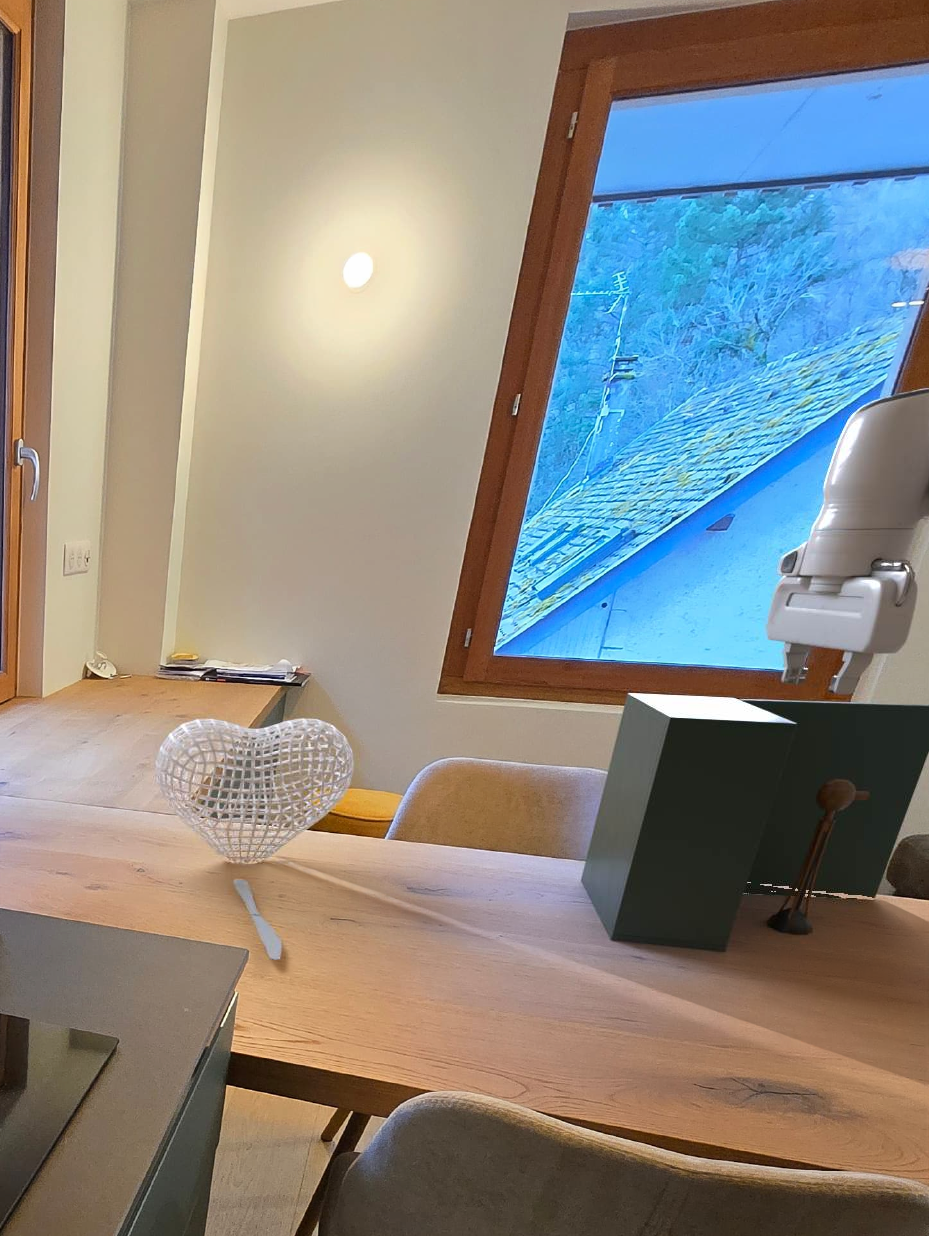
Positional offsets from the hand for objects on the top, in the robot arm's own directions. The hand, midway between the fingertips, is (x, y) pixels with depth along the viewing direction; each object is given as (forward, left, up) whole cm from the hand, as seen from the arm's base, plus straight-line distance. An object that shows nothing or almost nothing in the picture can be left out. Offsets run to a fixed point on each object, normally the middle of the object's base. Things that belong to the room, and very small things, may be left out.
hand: (815, 688), depth 118 cm
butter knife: (+35, +49, -30) cm, 67 cm away
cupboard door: (+5, -18, -30) cm, 35 cm away
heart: (+53, +32, -30) cm, 69 cm away
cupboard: (+9, +5, -30) cm, 32 cm away
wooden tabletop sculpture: (-4, -5, -30) cm, 31 cm away
